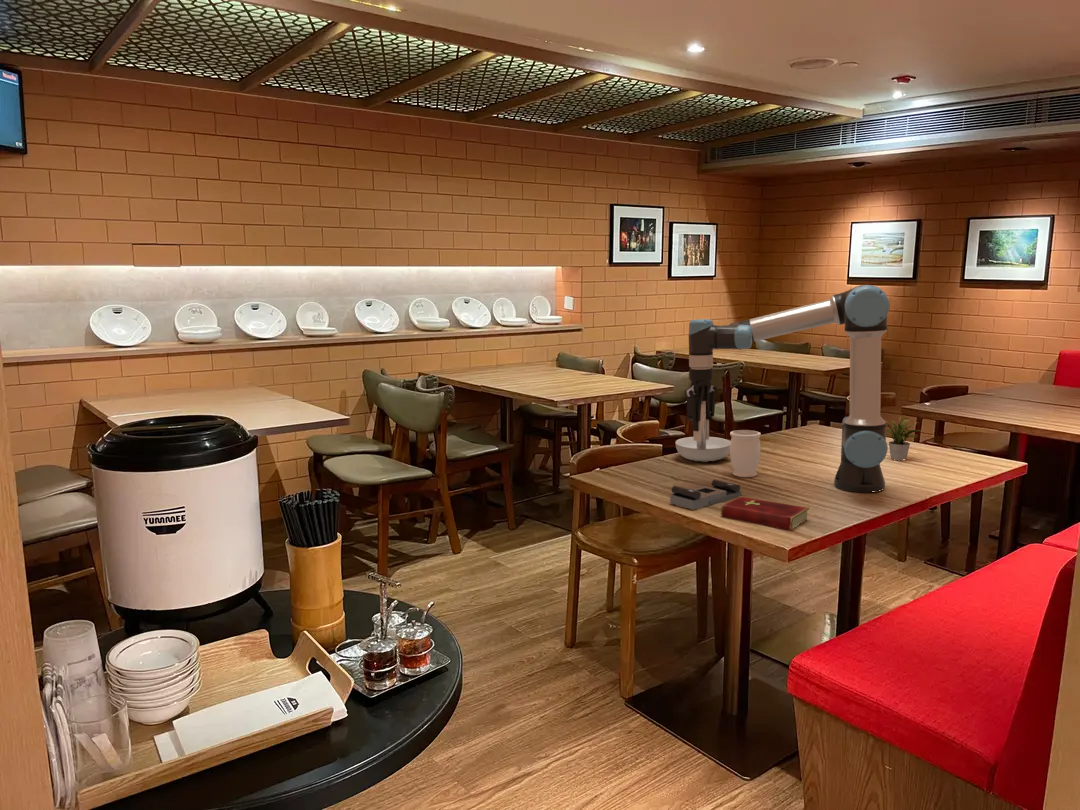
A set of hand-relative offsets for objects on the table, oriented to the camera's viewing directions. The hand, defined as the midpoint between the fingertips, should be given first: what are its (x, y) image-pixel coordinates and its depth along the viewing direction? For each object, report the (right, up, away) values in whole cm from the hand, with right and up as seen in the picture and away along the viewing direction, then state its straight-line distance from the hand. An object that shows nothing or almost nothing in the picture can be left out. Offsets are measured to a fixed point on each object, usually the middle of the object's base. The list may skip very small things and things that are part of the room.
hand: (701, 439), depth 248 cm
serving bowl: (+10, -10, +43) cm, 45 cm away
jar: (+19, -13, +19) cm, 30 cm away
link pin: (0, -3, 0) cm, 3 cm away
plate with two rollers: (-1, -18, -11) cm, 21 cm away
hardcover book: (+12, -22, -30) cm, 39 cm away
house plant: (+79, -9, +34) cm, 87 cm away
